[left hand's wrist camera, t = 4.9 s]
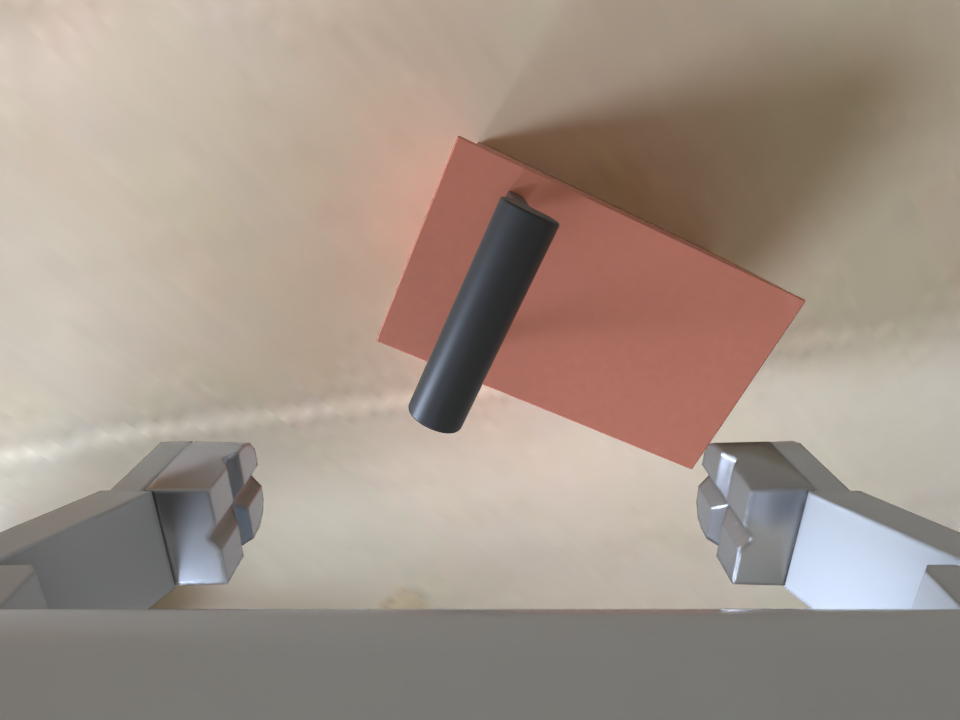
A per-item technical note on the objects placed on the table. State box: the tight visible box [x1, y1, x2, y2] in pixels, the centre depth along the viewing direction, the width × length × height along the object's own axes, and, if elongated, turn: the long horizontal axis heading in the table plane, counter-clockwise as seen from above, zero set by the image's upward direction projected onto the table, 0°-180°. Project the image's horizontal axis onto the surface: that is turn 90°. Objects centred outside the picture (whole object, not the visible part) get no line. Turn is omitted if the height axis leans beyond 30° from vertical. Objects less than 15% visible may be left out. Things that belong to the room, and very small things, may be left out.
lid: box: [377, 136, 805, 469], centre depth 23 cm, size 17×10×9 cm, turn 66°
